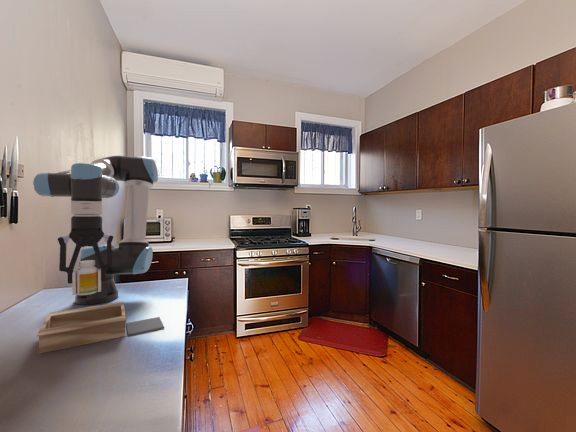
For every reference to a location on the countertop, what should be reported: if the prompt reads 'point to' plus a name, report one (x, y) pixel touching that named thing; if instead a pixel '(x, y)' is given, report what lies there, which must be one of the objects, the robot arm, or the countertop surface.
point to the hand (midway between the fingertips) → (87, 291)
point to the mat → (144, 326)
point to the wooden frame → (81, 326)
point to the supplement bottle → (87, 278)
